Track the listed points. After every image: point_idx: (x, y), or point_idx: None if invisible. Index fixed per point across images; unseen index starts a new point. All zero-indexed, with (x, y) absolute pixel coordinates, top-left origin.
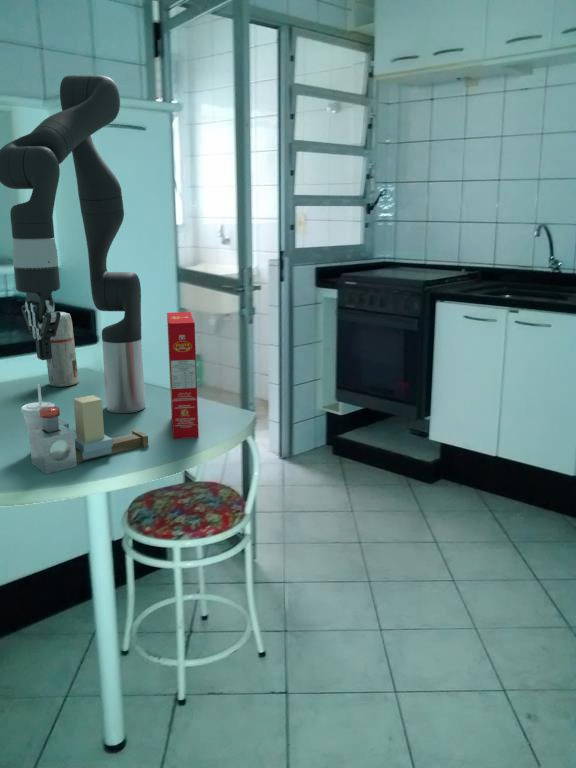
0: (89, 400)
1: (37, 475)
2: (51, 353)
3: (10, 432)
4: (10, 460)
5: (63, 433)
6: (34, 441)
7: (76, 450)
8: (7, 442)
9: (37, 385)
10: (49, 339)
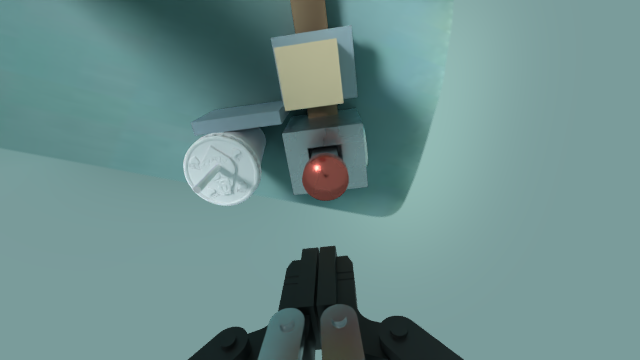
0: (329, 76)
1: None
2: (334, 256)
3: (114, 162)
4: (267, 191)
5: (361, 145)
6: None
7: None
8: (171, 178)
9: (199, 192)
10: (360, 315)
